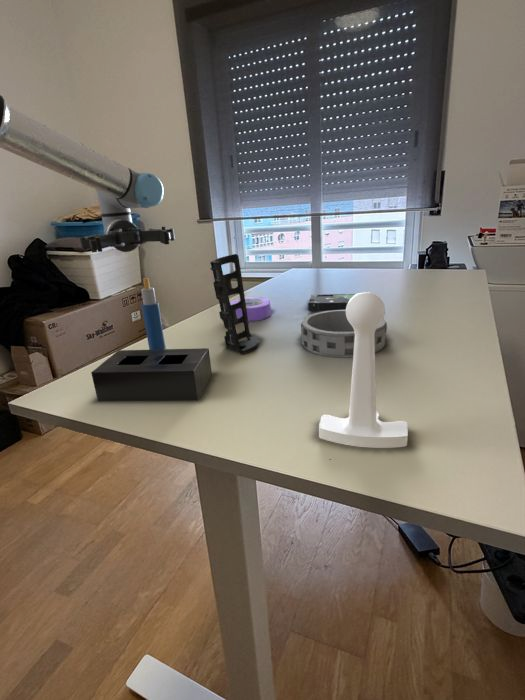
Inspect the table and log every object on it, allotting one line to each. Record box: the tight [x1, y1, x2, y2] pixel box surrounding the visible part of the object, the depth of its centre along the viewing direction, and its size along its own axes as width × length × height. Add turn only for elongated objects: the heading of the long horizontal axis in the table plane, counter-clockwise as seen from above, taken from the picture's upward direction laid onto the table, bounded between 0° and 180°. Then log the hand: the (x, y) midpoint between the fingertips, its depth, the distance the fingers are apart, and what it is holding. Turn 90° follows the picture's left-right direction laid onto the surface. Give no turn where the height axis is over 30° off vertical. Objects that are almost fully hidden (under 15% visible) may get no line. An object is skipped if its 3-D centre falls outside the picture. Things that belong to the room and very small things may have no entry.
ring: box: [300, 310, 388, 358], centre depth 88 cm, size 18×18×5 cm
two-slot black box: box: [90, 347, 213, 402], centre depth 71 cm, size 10×17×6 cm, turn 84°
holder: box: [209, 253, 261, 355], centre depth 88 cm, size 11×8×20 cm
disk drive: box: [307, 293, 357, 312], centre depth 117 cm, size 10×3×15 cm
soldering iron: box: [140, 277, 167, 350], centre depth 81 cm, size 3×3×18 cm
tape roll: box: [230, 297, 272, 322], centre depth 114 cm, size 12×12×4 cm
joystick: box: [318, 291, 409, 449], centre depth 51 cm, size 11×8×20 cm
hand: (133, 241), depth 84 cm, fingers open, 13 cm apart
